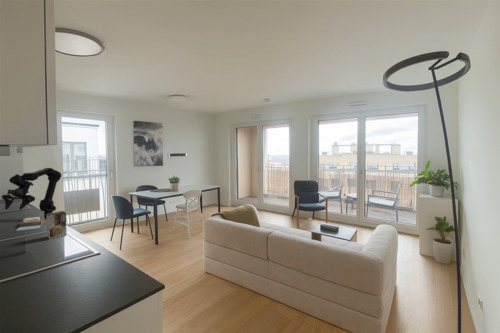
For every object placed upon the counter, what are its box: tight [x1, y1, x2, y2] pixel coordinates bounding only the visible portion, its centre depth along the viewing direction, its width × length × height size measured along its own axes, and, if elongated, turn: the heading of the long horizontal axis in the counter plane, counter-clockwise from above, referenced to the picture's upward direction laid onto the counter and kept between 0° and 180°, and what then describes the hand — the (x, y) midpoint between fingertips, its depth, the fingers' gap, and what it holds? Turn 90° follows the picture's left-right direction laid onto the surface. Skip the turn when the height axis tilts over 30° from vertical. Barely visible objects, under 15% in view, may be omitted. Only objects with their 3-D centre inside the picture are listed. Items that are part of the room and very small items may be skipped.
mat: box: [16, 225, 42, 232], centre depth 171 cm, size 8×12×1 cm, turn 122°
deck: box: [18, 216, 46, 228], centre depth 180 cm, size 13×12×3 cm
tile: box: [22, 216, 41, 223], centre depth 177 cm, size 6×8×2 cm
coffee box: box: [45, 210, 68, 240], centre depth 156 cm, size 9×6×16 cm
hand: (13, 209), depth 165 cm, fingers open, 9 cm apart
